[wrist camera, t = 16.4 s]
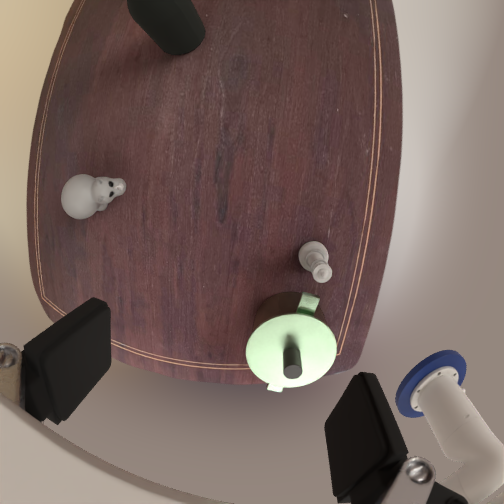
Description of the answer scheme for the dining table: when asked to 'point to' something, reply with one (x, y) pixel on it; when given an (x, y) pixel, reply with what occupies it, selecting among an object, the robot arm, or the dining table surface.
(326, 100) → the dining table surface
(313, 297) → the pot
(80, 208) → the toy rhinoceros
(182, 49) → the wine bottle
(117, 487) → the robot arm
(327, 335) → the pot lid
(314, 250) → the chess piece
